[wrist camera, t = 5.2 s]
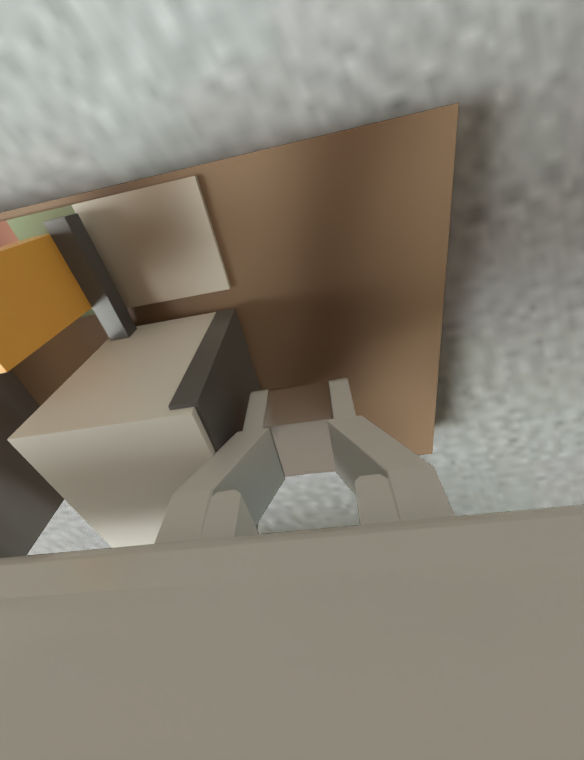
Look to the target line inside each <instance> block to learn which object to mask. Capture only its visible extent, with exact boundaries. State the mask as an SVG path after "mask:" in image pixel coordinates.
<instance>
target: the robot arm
mask: <svg viewBox="0 0 584 760" xmlns="http://www.w3.org/2000/svg"><path fill="white" fill-rule="evenodd" d="M329 388H330V389H329ZM333 471H336V473H337V474H338V475H339V476H340V478H341V479H342V480H343V481H344V482H345V484H346V485H347V486H348V487H349V488H350V489H351V491H352V492H353V493H354V494H355V495H356V498H357V506H358V514H359V522H360V525H354V526H343V527H332V528H321V529H311V530H300V531H289V532H278V533H267V534H259V533H258V531H257V529H256V525H257V523H258V522H259V520H260V518H261V517H262V515H263V514H264V512H265V510H266V509H267V507H268V505H269V504H270V502H271V501H272V499H273V497H274V496H275V494H276V493H277V491H278V489H279V488H280V486H281V485H282V483H283V481H284V480H285V477H289V476H296V475H303V474H310V473H322V472H333ZM0 760H584V504H583V505H572V506H561V507H550V508H539V509H528V510H517V511H506V512H495V513H484V514H473V515H462V516H455V515H454V512H453V510H452V508H451V506H450V503H449V501H448V499H447V496H446V494H445V492H444V489H443V487H442V485H441V482H440V480H439V478H438V475H437V473H436V471H435V468H434V467H433V466H432V465H431V464H429V463H428V462H426V461H425V460H424V459H422V458H421V457H419V456H418V455H417V454H415V453H414V452H412V451H411V450H409V449H408V448H407V447H405V446H404V445H402V444H401V443H400V442H398V441H397V440H395V439H394V438H393V437H391V436H390V435H388V434H387V433H386V432H384V431H383V430H381V429H380V428H379V427H377V426H376V425H374V424H373V423H372V422H370V421H369V420H367V419H366V418H365V417H363V416H356V414H355V409H354V405H353V400H352V396H351V391H350V387H349V382H348V379H347V378H341V379H336V380H330V381H329V383H328V381H327V382H320V383H314V384H308V385H299V386H291V387H283V388H275V389H269V390H268V389H267V390H260V391H253V392H252V393H251V394H250V396H249V401H248V406H247V411H246V416H245V421H244V426H243V431H239V432H237V433H236V434H235V435H233V436H232V437H231V438H230V439H229V440H228V441H227V442H226V443H225V444H224V445H223V446H222V447H221V448H220V450H218V451H217V452H216V453H215V454H214V455H213V457H211V458H210V459H209V460H208V461H207V462H206V463H205V464H204V465H203V466H202V467H201V468H200V469H198V470H197V471H196V472H195V473H194V474H193V475H192V476H191V477H190V478H189V479H188V480H187V481H186V482H185V483H184V484H183V485H182V486H181V487H180V488H179V489H178V490H177V491H176V492H175V493H174V494H173V495H172V497H171V500H170V502H169V505H168V508H167V511H166V513H165V516H164V519H163V521H162V524H161V527H160V529H159V532H158V535H157V538H156V540H155V543H154V544H147V545H136V546H125V547H114V548H103V549H92V550H81V551H71V552H60V553H49V554H38V555H27V556H16V557H5V558H0Z"/></svg>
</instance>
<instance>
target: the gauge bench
mask: <svg viewBox="0 0 584 760" xmlns="http://www.w3.org/2000/svg"><path fill="white" fill-rule="evenodd" d="M458 109H459V103H456V104H451V105H447V106H443V107H439V108H435V109H431V110H426V111H422V112H418V113H414V114H410V115H405V116H401V117H397V118H393V119H389V120H385V121H380V122H376V123H372V124H368V125H364V126H360V127H355V128H351V129H347V130H343V131H339V132H335V133H330V134H326V135H322V136H318V137H314V138H310V139H305V140H301V141H297V142H293V143H289V144H285V145H280V146H276V147H272V148H268V149H264V150H260V151H255V152H251V153H247V154H243V155H239V156H235V157H230V158H226V159H222V160H218V161H214V162H210V163H205V164H201V165H197V166H193V167H189V168H185V169H180V170H176V171H172V172H168V173H164V174H160V175H155V176H151V177H147V178H143V179H139V180H135V181H130V182H126V183H122V184H118V185H114V186H110V187H105V188H101V189H97V190H93V191H89V192H85V193H80V194H76V195H72V196H68V197H64V198H60V199H55V200H51V201H47V202H43V203H39V204H35V205H30V206H26V207H22V208H18V209H14V210H10V211H5V212H1V213H0V247H2V246H6V245H9V244H12V243H15V242H18V241H21V240H24V239H27V238H30V237H34V236H38V235H43V234H47V233H49V232H48V230H47V229H46V227H45V225H44V223H43V222H44V221H47V220H51V219H54V218H58V217H62V216H67V215H71V214H75V213H78V215H79V217H80V219H81V220H82V222H83V224H84V226H85V228H86V230H87V232H88V234H89V236H90V238H91V240H92V242H93V244H94V246H95V248H96V250H97V252H98V254H99V256H100V258H101V260H102V261H103V263H104V265H105V267H106V269H107V271H108V273H109V275H110V277H111V279H112V281H113V283H114V285H115V287H116V289H117V291H118V293H119V295H120V297H121V299H122V300H123V302H124V304H125V306H126V308H127V310H128V312H129V314H130V316H131V318H132V320H133V322H134V324H135V326H140V325H146V324H151V323H157V322H163V321H168V320H174V319H179V318H185V317H190V316H196V315H201V314H207V313H213V312H217V311H219V310H225V309H230V308H236V311H237V314H238V318H239V321H240V324H241V327H242V331H243V334H244V337H245V340H246V343H247V347H248V350H249V353H250V356H251V360H252V363H253V366H254V369H255V372H256V376H257V379H258V382H259V385H260V389H261V390H267V389H268V390H269V389H275V388H283V387H291V386H299V385H308V384H314V383H320V382H327V381H328V383H329V381H330V380H336V379H341V378H347V379H348V382H349V387H350V391H351V396H352V400H353V405H354V409H355V414H356V416H363V417H365V418H366V419H367V420H369V421H370V422H372V423H373V424H374V425H376V426H377V427H379V428H380V429H381V430H383V431H384V432H386V433H387V434H388V435H390V436H391V437H393V438H394V439H395V440H397V441H398V442H400V443H401V444H402V445H404V446H405V447H407V448H408V449H409V450H411V451H412V452H414V453H415V454H417V455H424V454H432V450H433V437H434V424H435V411H436V397H437V384H438V371H439V358H440V345H441V332H442V319H443V305H444V292H445V279H446V266H447V253H448V240H449V227H450V214H451V200H452V187H453V174H454V161H455V148H456V135H457V122H458ZM108 339H109V336H108V335H107V333H106V331H105V329H104V328H103V326H102V324H101V322H100V321H99V319H98V317H97V315H96V314H95V312H94V310H93V309H92V308H91V309H90V310H88V311H87V312H86V313H84V314H83V315H82V316H80V317H79V318H78V319H77V320H75V321H74V322H73V323H71V324H70V325H69V326H67V327H66V328H65V329H63V330H62V331H61V332H59V333H58V334H57V335H56V336H54V337H53V338H52V339H50V340H49V341H48V342H46V343H45V344H44V345H42V346H41V347H40V348H38V349H37V350H36V351H35V352H33V353H32V354H31V355H29V356H28V357H27V358H25V359H24V360H23V361H21V362H20V363H19V364H17V365H16V366H15V367H14V368H12V369H11V370H10V371H8V372H6V373H0V558H5V557H16V556H26V555H27V554H28V552H29V551H30V549H31V548H32V546H33V545H34V543H35V542H36V540H37V539H38V537H39V536H40V534H41V533H42V531H43V530H44V528H45V527H46V525H47V524H48V522H49V521H50V519H51V518H52V517H53V515H54V514H55V512H56V511H57V509H58V508H59V506H60V505H61V503H62V502H63V500H64V498H63V497H62V496H61V495H60V494H59V493H58V492H57V491H56V490H55V489H54V488H53V487H52V486H51V485H50V484H49V483H48V482H47V481H46V479H45V478H44V477H43V476H42V475H41V474H40V473H39V472H38V471H37V470H36V469H35V468H34V467H33V466H32V465H31V464H30V463H29V462H28V461H27V460H26V459H25V458H24V457H23V456H22V455H21V454H20V453H19V452H18V451H17V450H16V449H15V448H14V447H13V446H12V445H11V444H10V442H9V441H8V440H7V439H8V438H9V437H10V436H11V435H12V434H13V433H14V432H15V431H16V430H17V429H18V428H19V427H20V426H21V425H22V424H23V423H24V422H25V421H26V420H27V419H28V418H29V417H30V416H31V415H32V414H33V413H34V412H35V411H36V410H37V409H38V408H39V407H40V406H41V405H42V404H43V403H44V402H45V401H46V400H47V399H48V398H49V397H50V396H51V395H52V394H53V393H54V392H55V391H56V390H57V389H58V388H59V387H60V386H61V385H62V384H63V383H64V382H65V381H66V380H67V379H68V378H69V377H70V376H71V375H72V374H73V373H74V372H75V371H76V370H77V369H78V368H79V367H80V366H82V365H83V364H84V363H85V362H86V361H87V360H88V359H89V358H90V357H91V356H92V355H93V354H94V353H95V352H96V351H97V350H98V349H99V348H100V347H101V346H102V345H103V344H104V343H105V342H106V341H107V340H108ZM329 389H330V388H329Z"/></svg>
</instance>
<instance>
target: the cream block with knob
mask: <svg viewBox="0 0 584 760" xmlns="http://www.w3.org/2000/svg"><path fill="white" fill-rule="evenodd" d="M43 223H44V225H45V227H46V229H47V230H48V232H49V234H50V236H51V237H52V239H53V241H54V243H55V244H56V246H57V248H58V249H59V251H60V253H61V255H62V256H63V258H64V260H65V262H66V263H67V265H68V267H69V269H70V270H71V272H72V274H73V275H74V277H75V279H76V281H77V282H78V284H79V286H80V288H81V289H82V291H83V293H84V295H85V296H86V298H87V300H88V302H89V303H90V305H91V307H92V309H93V310H94V312H95V314H96V315H97V317H98V319H99V321H100V322H101V324H102V326H103V328H104V329H105V331H106V333H107V335H108V336H109V339H108V340H107V341H106V342H105V343H104V344H103V345H102V346H101V347H100V348H99V349H98V350H97V351H96V352H95V353H94V354H93V355H92V356H91V357H90V358H89V359H88V360H87V361H86V362H85V363H84V364H83V365H82V366H80V367H79V368H78V369H77V370H76V371H75V372H74V373H73V374H72V375H71V376H70V377H69V378H68V379H67V380H66V381H65V382H64V383H63V384H62V385H61V386H60V387H59V388H58V389H57V390H56V391H55V392H54V393H53V394H52V395H51V396H50V397H49V398H48V399H47V400H46V401H45V402H44V403H43V404H42V405H41V406H40V407H39V408H38V409H37V410H36V411H35V412H34V413H33V414H32V415H31V416H30V417H29V418H28V419H27V420H26V421H25V422H24V423H23V424H22V425H21V426H20V427H19V428H18V429H17V430H16V431H15V432H14V433H13V434H12V435H11V436H10V437H9V438H8V439H7V440H8V441H9V442H10V444H11V445H12V446H13V447H14V448H15V449H16V450H17V451H18V452H19V453H20V454H21V455H22V456H23V457H24V458H25V459H26V460H27V461H28V462H29V463H30V464H31V465H32V466H33V467H34V468H35V469H36V470H37V471H38V472H39V473H40V474H41V475H42V476H43V477H44V478H45V479H46V481H47V482H48V483H49V484H50V485H51V486H52V487H53V488H54V489H55V490H56V491H57V492H58V493H59V494H60V495H61V496H62V497H63V498H64V499H65V500H66V501H67V502H68V503H69V504H70V505H71V506H72V507H73V508H74V509H75V510H76V511H77V512H78V513H79V514H80V515H81V517H82V518H83V519H84V520H85V521H86V522H87V523H88V524H89V525H90V526H91V527H92V528H93V529H94V530H95V531H96V532H97V533H98V534H99V535H100V536H101V537H102V538H103V539H104V540H105V541H106V542H107V543H108V544H109V545H110V546H111V547H112V548H114V547H125V546H136V545H147V544H154V543H155V540H156V538H157V535H158V532H159V529H160V527H161V524H162V521H163V519H164V516H165V513H166V511H167V508H168V505H169V502H170V500H171V497H172V495H173V494H174V493H175V492H176V491H177V490H178V489H179V488H180V487H181V486H182V485H183V484H184V483H185V482H186V481H187V480H188V479H189V478H190V477H191V476H192V475H193V474H194V473H195V472H196V471H197V470H198V469H200V468H201V467H202V466H203V465H204V464H205V463H206V462H207V461H208V460H209V459H210V458H211V457H213V455H214V454H215V453H216V452H217V451H218V450H220V448H221V447H222V446H223V445H224V444H225V443H226V442H227V441H228V440H229V439H230V438H231V437H232V436H233V435H235V434H236V433H237V432H239V431H243V426H244V421H245V416H246V411H247V406H248V401H249V396H250V394H251V393H252V392H253V391H260V390H261V389H260V385H259V382H258V379H257V376H256V372H255V369H254V366H253V363H252V360H251V356H250V353H249V350H248V347H247V343H246V340H245V337H244V334H243V331H242V327H241V324H240V321H239V318H238V314H237V311H236V308H230V309H225V310H219V311H217V312H213V313H207V314H201V315H196V316H190V317H185V318H179V319H174V320H168V321H163V322H157V323H151V324H146V325H140V326H135V324H134V322H133V320H132V318H131V316H130V314H129V312H128V310H127V308H126V306H125V304H124V302H123V300H122V299H121V297H120V295H119V293H118V291H117V289H116V287H115V285H114V283H113V281H112V279H111V277H110V275H109V273H108V271H107V269H106V267H105V265H104V263H103V261H102V260H101V258H100V256H99V254H98V252H97V250H96V248H95V246H94V244H93V242H92V240H91V238H90V236H89V234H88V232H87V230H86V228H85V226H84V224H83V222H82V220H81V219H80V217H79V215H78V213H75V214H71V215H67V216H62V217H58V218H54V219H51V220H47V221H44V222H43ZM256 529H257V530H258V523H257V525H256Z"/></svg>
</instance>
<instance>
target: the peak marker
mask: <svg viewBox="0 0 584 760" xmlns="http://www.w3.org/2000/svg"><path fill="white" fill-rule="evenodd" d="M91 308H92V307H91V305H90V303H89V302H88V300H87V298H86V296H85V295H84V293H83V291H82V289H81V288H80V286H79V284H78V282H77V281H76V279H75V277H74V275H73V274H72V272H71V270H70V269H69V267H68V265H67V263H66V262H65V260H64V258H63V256H62V255H61V253H60V251H59V249H58V248H57V246H56V244H55V243H54V241H53V239H52V237H51V236H50V234H49V233H47V234H43V235H38V236H34V237H30V238H27V239H24V240H21V241H18V242H15V243H12V244H9V245H6V246H2V247H0V373H6V372H8V371H10V370H11V369H12V368H14V367H15V366H16V365H17V364H19V363H20V362H21V361H23V360H24V359H25V358H27V357H28V356H29V355H31V354H32V353H33V352H35V351H36V350H37V349H38V348H40V347H41V346H42V345H44V344H45V343H46V342H48V341H49V340H50V339H52V338H53V337H54V336H56V335H57V334H58V333H59V332H61V331H62V330H63V329H65V328H66V327H67V326H69V325H70V324H71V323H73V322H74V321H75V320H77V319H78V318H79V317H80V316H82V315H83V314H84V313H86V312H87V311H88V310H90V309H91Z"/></svg>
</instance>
